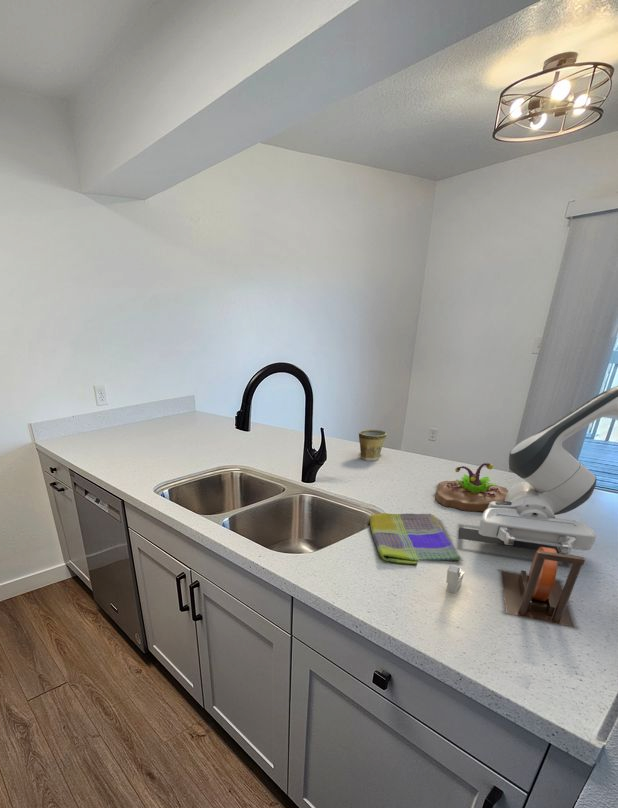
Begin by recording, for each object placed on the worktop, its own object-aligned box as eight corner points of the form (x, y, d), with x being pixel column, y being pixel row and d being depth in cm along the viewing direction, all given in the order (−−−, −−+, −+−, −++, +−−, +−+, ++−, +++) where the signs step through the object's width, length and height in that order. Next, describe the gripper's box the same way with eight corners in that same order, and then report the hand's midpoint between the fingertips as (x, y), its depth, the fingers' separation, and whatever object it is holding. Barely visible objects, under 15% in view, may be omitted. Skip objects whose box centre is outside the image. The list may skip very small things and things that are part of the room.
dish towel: (376, 563, 99) (378, 552, 98) (368, 519, 120) (369, 510, 119) (461, 568, 95) (463, 557, 94) (436, 522, 116) (438, 512, 115)
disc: (537, 584, 86) (552, 539, 82) (544, 612, 79) (561, 564, 74) (525, 582, 87) (539, 538, 83) (530, 609, 79) (547, 562, 75)
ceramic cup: (383, 462, 163) (386, 436, 158) (355, 461, 166) (357, 435, 162) (384, 453, 173) (387, 428, 169) (357, 452, 177) (360, 427, 172)
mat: (554, 542, 103) (555, 540, 103) (564, 571, 92) (565, 568, 92) (459, 529, 112) (459, 527, 111) (458, 554, 101) (458, 551, 100)
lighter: (450, 586, 89) (458, 552, 86) (459, 589, 88) (468, 555, 85) (440, 602, 85) (447, 567, 81) (449, 606, 84) (458, 570, 80)
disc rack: (557, 586, 87) (580, 523, 81) (572, 633, 75) (600, 563, 69) (499, 575, 92) (517, 516, 85) (504, 618, 79) (525, 552, 73)
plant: (512, 517, 116) (524, 477, 111) (432, 506, 125) (439, 469, 120) (510, 492, 131) (520, 456, 126) (439, 484, 140) (445, 450, 135)
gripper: (582, 539, 96) (596, 569, 85) (476, 524, 104) (476, 550, 94) (592, 513, 93) (608, 540, 82) (482, 500, 102) (483, 524, 91)
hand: (537, 545), depth 88 cm, fingers open, 8 cm apart
